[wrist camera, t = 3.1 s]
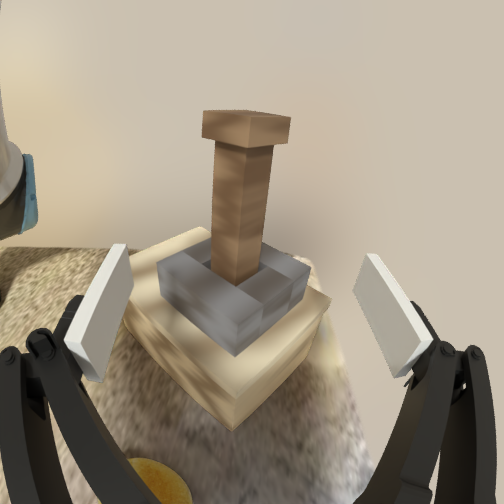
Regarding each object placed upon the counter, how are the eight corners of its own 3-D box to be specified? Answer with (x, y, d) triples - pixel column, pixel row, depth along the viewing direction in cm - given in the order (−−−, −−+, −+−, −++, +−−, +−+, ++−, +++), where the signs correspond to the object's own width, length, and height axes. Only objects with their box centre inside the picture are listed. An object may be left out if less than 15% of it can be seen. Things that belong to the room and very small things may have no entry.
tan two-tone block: (122, 326, 34) (99, 236, 27) (200, 283, 44) (200, 199, 37) (231, 435, 24) (240, 362, 16) (309, 356, 34) (342, 267, 26)
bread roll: (202, 528, 15) (199, 530, 12) (109, 529, 12) (93, 528, 10) (183, 457, 21) (178, 447, 19) (99, 460, 19) (84, 449, 16)
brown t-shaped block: (200, 297, 27) (203, 110, 18) (231, 278, 30) (245, 109, 20) (233, 321, 24) (250, 116, 15) (264, 299, 27) (290, 117, 18)
